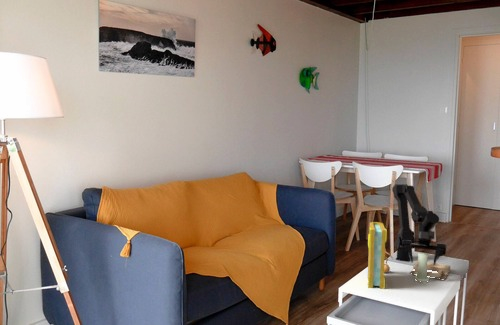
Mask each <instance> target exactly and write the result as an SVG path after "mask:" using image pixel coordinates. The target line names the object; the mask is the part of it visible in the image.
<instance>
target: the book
mask: <svg viewBox="0 0 500 325" xmlns="http://www.w3.org/2000/svg"><path fill="white" fill-rule="evenodd" d="M368 228H369V231H368V234H367V247H368V258H367V259H368V261H367V263H368V264H367V288H369V289H374V287H375V286H377V287H379V290H385V286H386V277H385V273H384V264H385V262H386V261H385V260H386V259H385V249H386V242H387V237H388V234H387V233H388V231H387V228H385V225H384V223H383V222H378V221H371V222H369V227H368Z"/></svg>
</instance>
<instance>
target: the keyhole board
mask: <svg viewBox="0 0 500 325" xmlns="http://www.w3.org/2000/svg"><path fill="white" fill-rule="evenodd" d="M413 269H415V271H412V270H413ZM412 270H411V271H410V272H409V274H410V273H412V274H417V272H418V260H417V261H416V262H415V264H414V265H413V268H412ZM427 270H432V271H437V272H438V273H432V272H427V276H430V277H435V278H440V279H445V277H446V276H447V277H448V275H449V274H450V272H451V265H449V264H443V263H437V262H436V263H435V265H434V262H429V261H427ZM448 273H449V274H448ZM447 274H448V275H447ZM447 277H446V278H447ZM445 280H446V279H445Z"/></svg>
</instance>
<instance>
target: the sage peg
mask: <svg viewBox="0 0 500 325" xmlns="http://www.w3.org/2000/svg"><path fill="white" fill-rule="evenodd" d="M428 257H429V256H428V253H426V252H418V254H417V261H418V272H417V276H415V275H414V280H415V279H416V280H417V281H421V282H420V283H422V282H427V281H429V282H430V278H428V277H427V262H428V259H429V258H428ZM417 281H416V282H417ZM427 283H428V282H427Z"/></svg>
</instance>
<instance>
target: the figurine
mask: <svg viewBox="0 0 500 325" xmlns="http://www.w3.org/2000/svg"><path fill="white" fill-rule="evenodd" d="M387 255H388V256H390V258H391V259H392V260H394V257H393V256H392V255H391V254H390V253H389V252H387V249H386V248H385V260H386V261H385V263H384V274H387V273H389V272H390V270H391V267H390V266H389V265H388V261H389V259H388V256H387Z"/></svg>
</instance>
